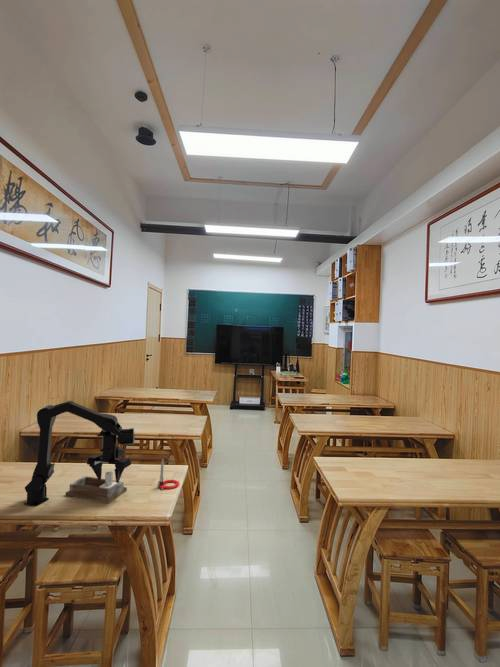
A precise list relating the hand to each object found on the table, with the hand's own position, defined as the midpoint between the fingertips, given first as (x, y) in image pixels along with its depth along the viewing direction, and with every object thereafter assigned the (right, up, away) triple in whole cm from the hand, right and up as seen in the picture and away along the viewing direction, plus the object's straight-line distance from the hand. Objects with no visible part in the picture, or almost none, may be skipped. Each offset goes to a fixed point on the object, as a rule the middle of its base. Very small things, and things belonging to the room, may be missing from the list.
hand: (108, 480), depth 143 cm
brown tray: (-6, -6, +2) cm, 9 cm away
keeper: (0, -4, 0) cm, 4 cm away
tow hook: (+24, -7, +11) cm, 27 cm away
